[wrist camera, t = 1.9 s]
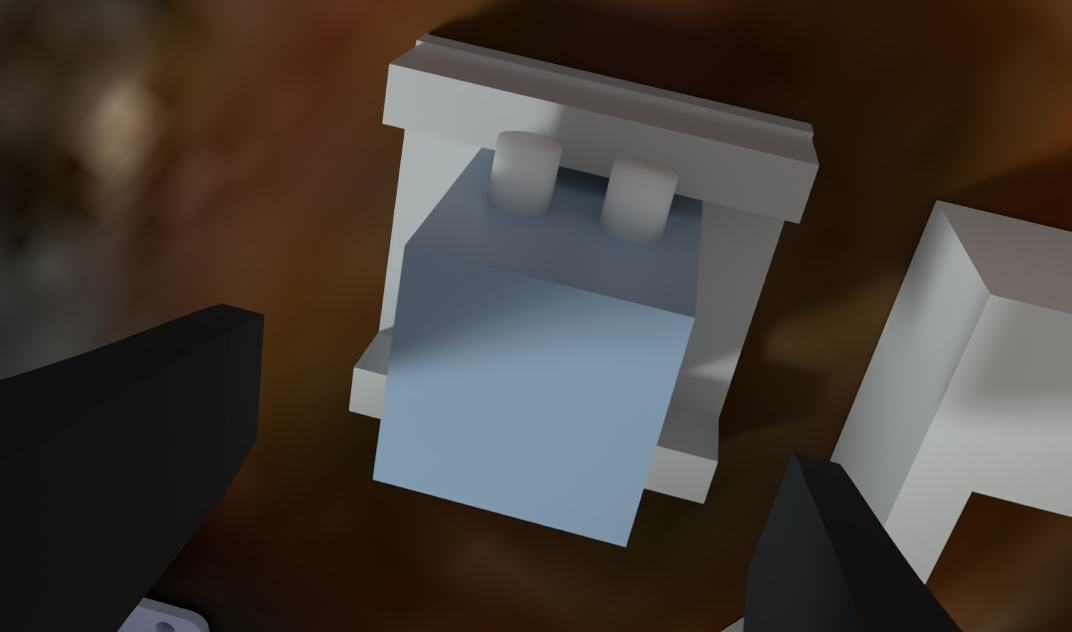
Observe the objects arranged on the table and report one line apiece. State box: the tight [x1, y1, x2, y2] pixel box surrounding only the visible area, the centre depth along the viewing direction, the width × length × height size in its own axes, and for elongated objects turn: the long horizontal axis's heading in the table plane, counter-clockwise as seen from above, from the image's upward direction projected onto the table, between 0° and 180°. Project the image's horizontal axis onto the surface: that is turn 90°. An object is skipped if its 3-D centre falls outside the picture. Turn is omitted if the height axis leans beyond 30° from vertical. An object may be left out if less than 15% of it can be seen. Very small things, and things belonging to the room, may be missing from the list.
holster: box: [349, 34, 819, 504], centre depth 18 cm, size 7×7×2 cm
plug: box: [373, 131, 703, 547], centre depth 16 cm, size 4×5×5 cm
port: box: [721, 200, 1072, 632], centre depth 18 cm, size 10×11×4 cm
